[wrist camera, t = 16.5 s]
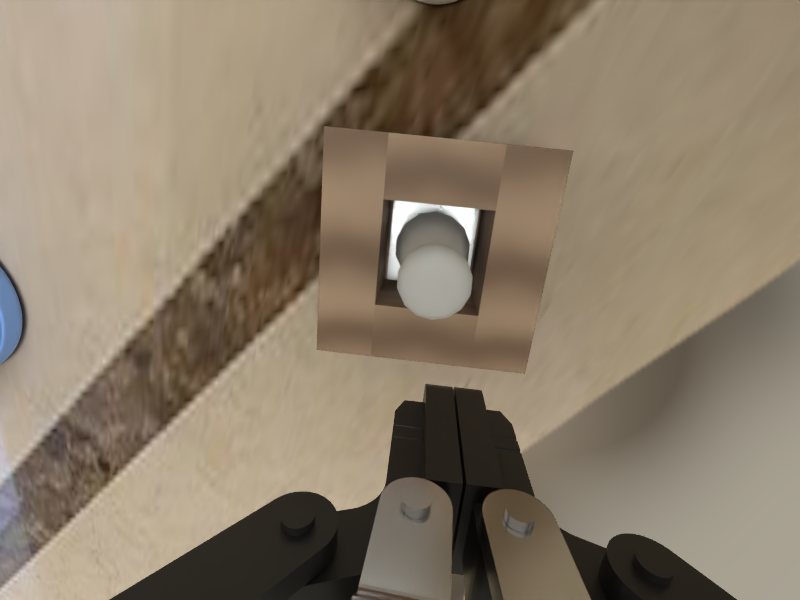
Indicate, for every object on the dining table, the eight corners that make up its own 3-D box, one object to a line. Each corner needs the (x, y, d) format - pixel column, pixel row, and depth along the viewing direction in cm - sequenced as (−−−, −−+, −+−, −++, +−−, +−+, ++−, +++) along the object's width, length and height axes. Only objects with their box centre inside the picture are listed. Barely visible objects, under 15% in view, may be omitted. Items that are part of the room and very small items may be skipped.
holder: (346, 133, 34) (324, 126, 27) (540, 152, 34) (573, 150, 26) (337, 313, 40) (316, 349, 32) (505, 332, 39) (524, 373, 32)
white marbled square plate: (394, 195, 35) (393, 196, 34) (478, 204, 35) (479, 205, 34) (387, 275, 37) (386, 279, 36) (466, 284, 37) (467, 287, 36)
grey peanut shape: (462, 279, 36) (481, 342, 23) (396, 274, 36) (380, 334, 24) (470, 210, 34) (494, 239, 21) (400, 205, 34) (384, 231, 22)
